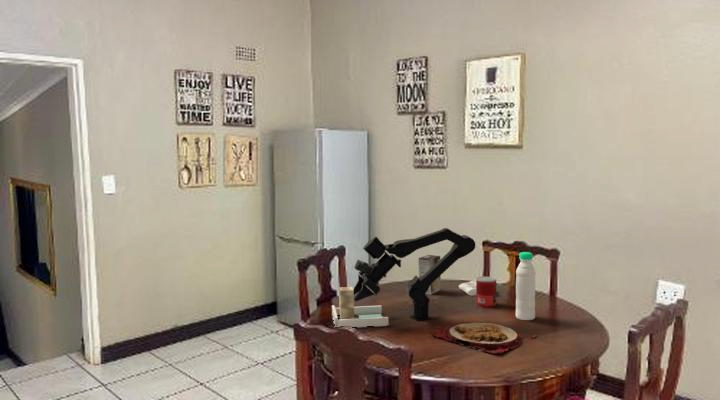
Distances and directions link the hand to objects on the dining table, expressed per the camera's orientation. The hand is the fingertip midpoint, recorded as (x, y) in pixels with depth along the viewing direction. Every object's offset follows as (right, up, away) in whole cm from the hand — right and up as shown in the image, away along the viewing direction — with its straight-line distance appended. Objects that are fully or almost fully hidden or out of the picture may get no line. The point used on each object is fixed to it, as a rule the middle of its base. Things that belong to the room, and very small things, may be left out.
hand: (353, 297), depth 201 cm
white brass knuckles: (+56, -5, +40) cm, 69 cm away
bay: (+2, -9, +1) cm, 9 cm away
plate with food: (+45, -11, -19) cm, 50 cm away
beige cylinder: (-3, -9, 0) cm, 9 cm away
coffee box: (+34, -5, +41) cm, 54 cm away
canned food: (+54, -7, +19) cm, 58 cm away
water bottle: (+65, -8, +1) cm, 66 cm away
